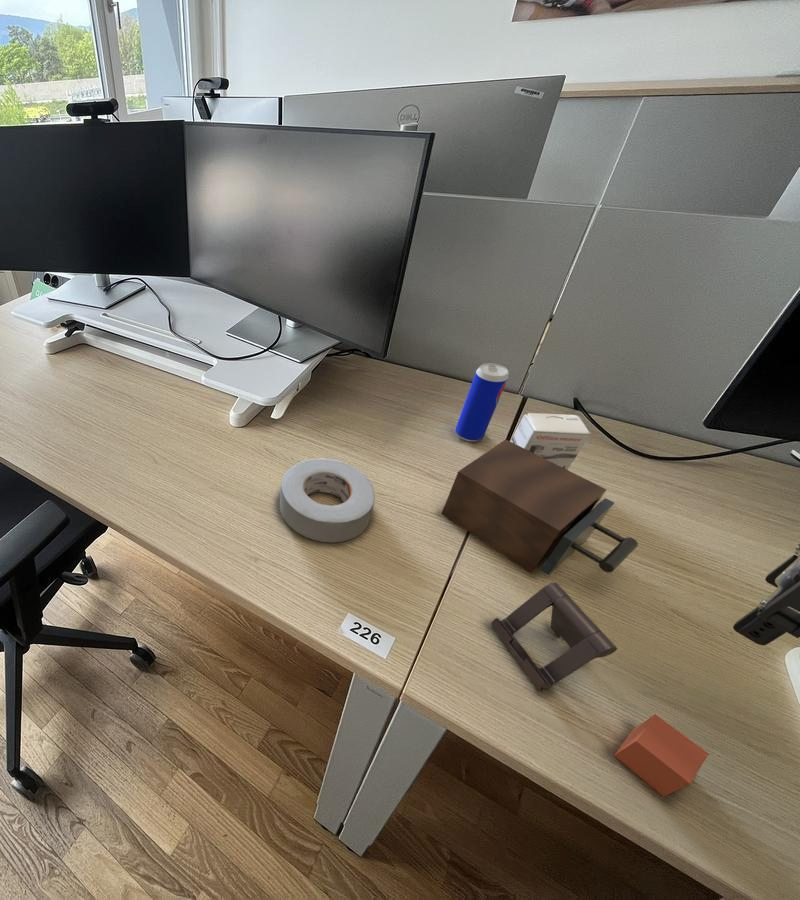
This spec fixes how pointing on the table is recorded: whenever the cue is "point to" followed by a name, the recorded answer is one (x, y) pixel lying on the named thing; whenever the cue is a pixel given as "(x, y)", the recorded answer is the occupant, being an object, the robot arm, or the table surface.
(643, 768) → the block
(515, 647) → the tablet stand
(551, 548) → the cabinet
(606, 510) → the drawer
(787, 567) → the robot arm
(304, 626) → the table surface
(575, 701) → the table surface
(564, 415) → the ink box
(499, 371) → the beverage can
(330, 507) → the tape roll
